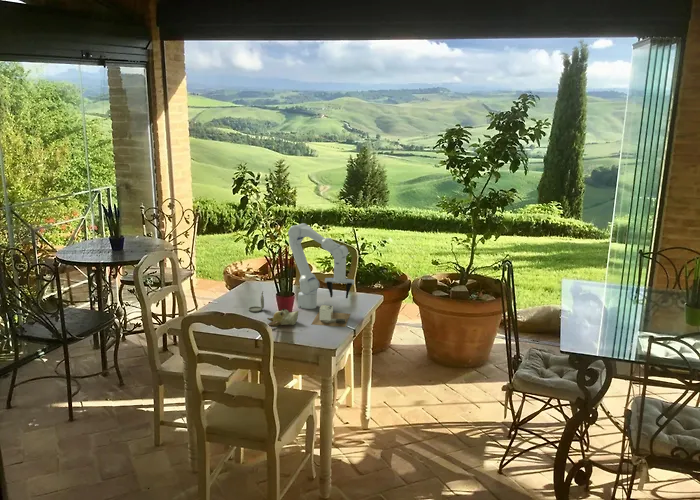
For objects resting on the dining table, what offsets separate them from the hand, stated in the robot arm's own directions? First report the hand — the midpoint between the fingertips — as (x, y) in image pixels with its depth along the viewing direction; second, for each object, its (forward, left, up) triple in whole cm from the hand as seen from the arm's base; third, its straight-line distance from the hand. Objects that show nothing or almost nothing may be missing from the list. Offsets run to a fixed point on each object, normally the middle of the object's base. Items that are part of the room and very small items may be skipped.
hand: (339, 297), depth 286 cm
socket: (-4, -14, -6) cm, 16 cm away
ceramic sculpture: (-24, -20, -10) cm, 32 cm away
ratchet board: (-2, -10, -9) cm, 14 cm away
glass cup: (-41, -1, -10) cm, 42 cm away
